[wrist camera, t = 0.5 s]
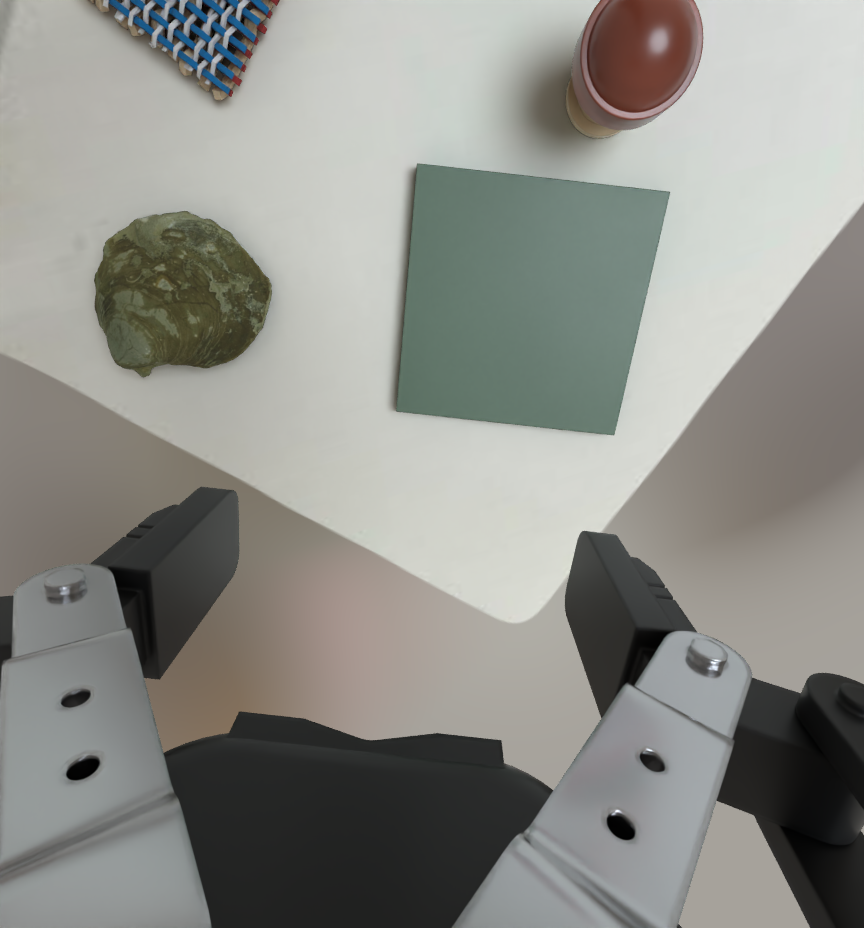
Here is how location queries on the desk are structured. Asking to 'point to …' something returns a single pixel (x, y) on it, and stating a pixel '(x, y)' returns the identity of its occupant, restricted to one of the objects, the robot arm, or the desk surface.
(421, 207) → the sage board
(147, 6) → the woven mat
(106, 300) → the seashell
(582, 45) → the wooden mushroom
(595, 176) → the desk surface
